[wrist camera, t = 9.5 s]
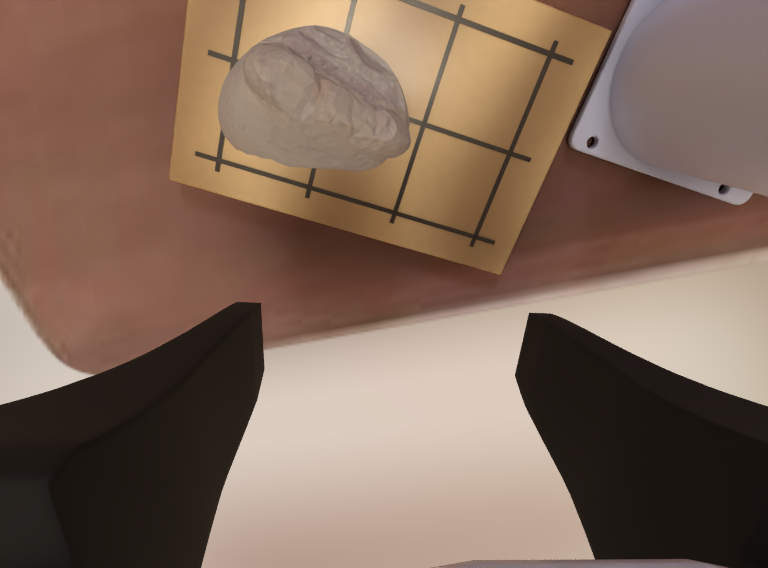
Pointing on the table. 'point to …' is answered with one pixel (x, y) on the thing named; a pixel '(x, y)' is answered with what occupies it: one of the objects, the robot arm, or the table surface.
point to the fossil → (315, 102)
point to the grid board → (426, 114)
